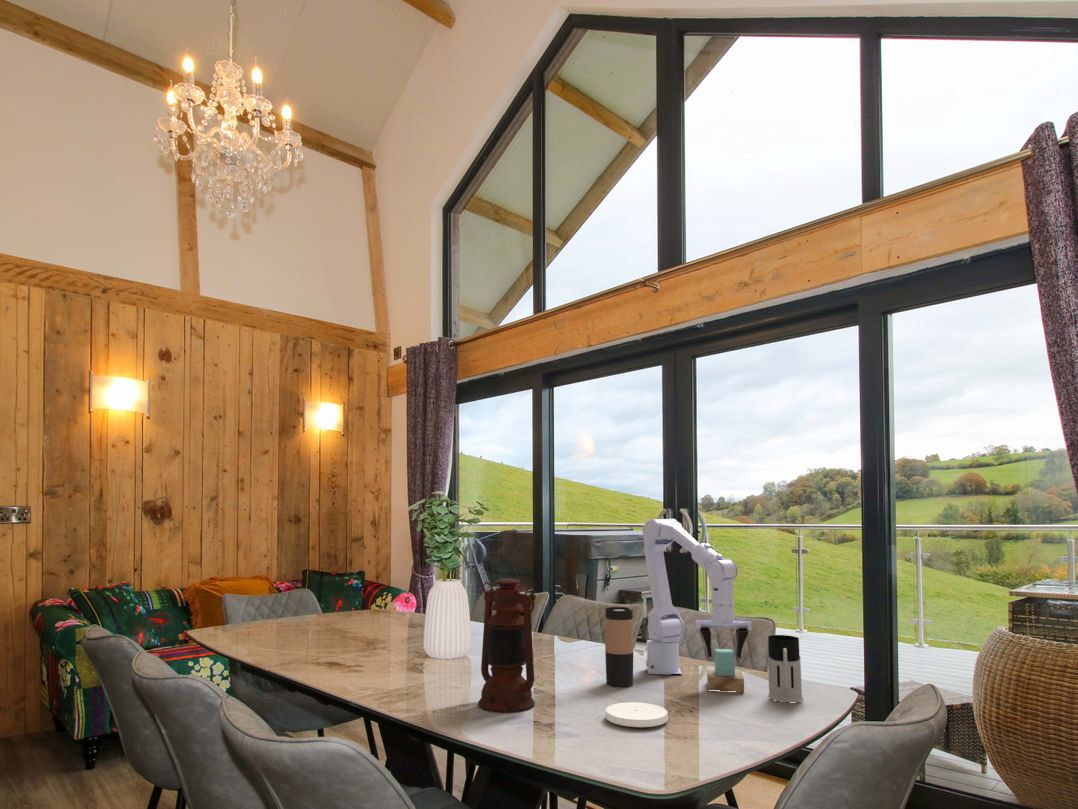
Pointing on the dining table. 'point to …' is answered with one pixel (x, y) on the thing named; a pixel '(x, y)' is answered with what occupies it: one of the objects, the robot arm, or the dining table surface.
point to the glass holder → (784, 668)
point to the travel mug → (619, 646)
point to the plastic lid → (636, 714)
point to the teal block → (724, 662)
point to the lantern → (507, 649)
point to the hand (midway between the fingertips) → (724, 656)
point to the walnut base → (725, 682)
